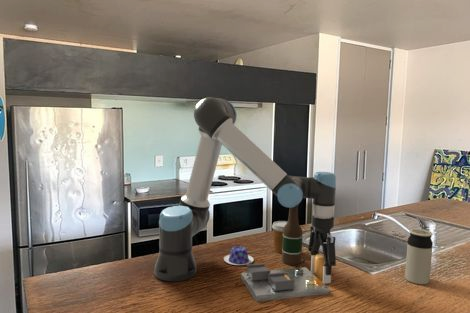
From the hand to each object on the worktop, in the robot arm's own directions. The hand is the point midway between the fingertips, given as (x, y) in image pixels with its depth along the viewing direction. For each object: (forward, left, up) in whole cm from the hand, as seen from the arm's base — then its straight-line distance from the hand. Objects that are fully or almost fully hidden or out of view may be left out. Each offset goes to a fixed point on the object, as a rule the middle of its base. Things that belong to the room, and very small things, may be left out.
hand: (320, 277), depth 133 cm
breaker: (-23, +2, +2) cm, 23 cm away
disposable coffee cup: (-3, +28, 0) cm, 28 cm away
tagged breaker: (-18, -7, +2) cm, 20 cm away
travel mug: (+34, -9, 0) cm, 35 cm away
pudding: (-24, +22, -1) cm, 33 cm away
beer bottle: (-4, +16, 0) cm, 17 cm away
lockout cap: (0, 0, 0) cm, 0 cm away
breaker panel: (-16, -3, 0) cm, 16 cm away
